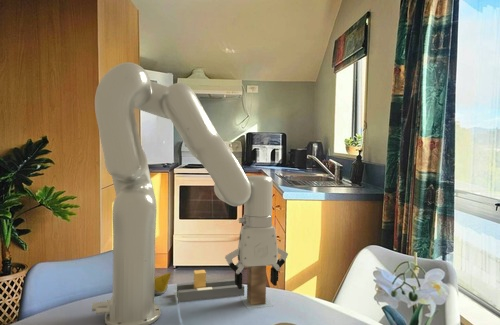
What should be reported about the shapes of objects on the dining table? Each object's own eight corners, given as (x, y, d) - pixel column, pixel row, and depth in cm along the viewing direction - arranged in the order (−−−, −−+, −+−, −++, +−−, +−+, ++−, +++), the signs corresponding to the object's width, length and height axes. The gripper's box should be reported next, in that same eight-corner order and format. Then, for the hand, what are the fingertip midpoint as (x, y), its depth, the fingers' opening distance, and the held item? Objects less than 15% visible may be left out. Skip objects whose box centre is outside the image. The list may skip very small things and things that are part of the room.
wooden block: (250, 305, 86) (251, 267, 86) (246, 299, 90) (247, 262, 90) (265, 304, 87) (266, 266, 87) (260, 297, 91) (261, 261, 91)
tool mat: (247, 310, 84) (247, 308, 84) (240, 299, 91) (240, 297, 91) (273, 307, 86) (273, 305, 86) (264, 296, 93) (264, 295, 93)
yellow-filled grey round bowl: (163, 289, 98) (181, 270, 94) (156, 303, 93) (176, 285, 89) (148, 279, 97) (166, 260, 93) (140, 293, 92) (159, 274, 88)
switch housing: (178, 303, 87) (178, 292, 87) (176, 294, 93) (176, 283, 93) (244, 297, 92) (244, 285, 92) (238, 288, 98) (238, 278, 98)
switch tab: (194, 292, 90) (195, 273, 90) (193, 289, 93) (193, 270, 93) (205, 291, 91) (205, 272, 91) (204, 288, 94) (204, 269, 94)
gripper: (229, 225, 82) (228, 294, 82) (293, 223, 87) (292, 287, 87) (223, 220, 89) (221, 283, 89) (282, 218, 94) (281, 278, 94)
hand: (256, 285), depth 88 cm, fingers open, 9 cm apart
